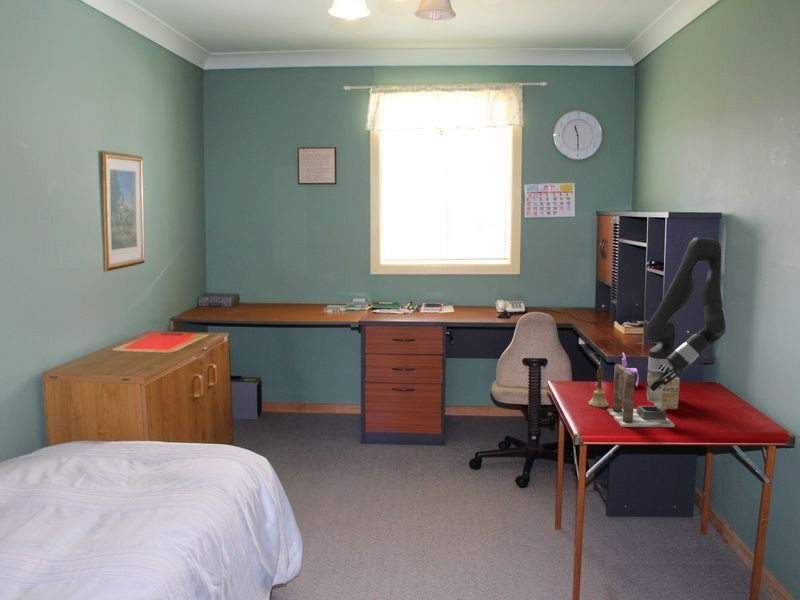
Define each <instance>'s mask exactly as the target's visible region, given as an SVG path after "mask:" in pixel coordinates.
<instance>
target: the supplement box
mask: <svg viewBox="0 0 800 600" xmlns="http://www.w3.org/2000/svg"><path fill="white" fill-rule="evenodd" d="M680 380H681V379H680V377H679V376H677V377H676V378H674V379H673V380H671V381H670V382H669V383H667V384H666V385H664V384H663V385H662V391H661V403H657V402H653V406H659V407H660V408H662V409H663V410H664V411H668V409H670V410H678V409H679V408H678V407H679V395H680ZM665 382H666V381H665Z"/></svg>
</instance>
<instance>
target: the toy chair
mask: <svg viewBox="0 0 800 600" xmlns="http://www.w3.org/2000/svg"><path fill="white" fill-rule="evenodd" d="M621 354H622V357H621V361H622V363H621V365H622V366H624V367H625V368H626V369H627V370H628V371H630V372H631V373H632V374H637V379H636V380H635V381H636V382H635V386H637V387H636V388H638V386H639V382H640V381H639V380H640V375H639V373H638V372H639V371H638V369H637V368H635V367H627V366H628V362H627V358H626V355H625V352H622V353H621Z"/></svg>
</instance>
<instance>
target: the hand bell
mask: <svg viewBox="0 0 800 600" xmlns="http://www.w3.org/2000/svg"><path fill="white" fill-rule="evenodd" d="M596 379H597V387H596V388H597V389H596V390H594V391H593V394H592V397H591V399H590V400H589V401H588V403H587V404H588V405H589V406H591V405H592V406H591V407H595V406H596V407H595V408H607V407H609V406H610V404H609V402H608V401H607V399H606V393H605V391H604V390H602V387H603V385H602V382H603V379H604V369H603V366H598V369H597V370H596ZM606 406H607V407H606Z"/></svg>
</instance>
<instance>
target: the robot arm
mask: <svg viewBox="0 0 800 600" xmlns="http://www.w3.org/2000/svg"><path fill="white" fill-rule="evenodd" d="M698 262H705V263H707V266H708V270H707V271H708V272H707V276H706V278H705V280H704V282H703V285H702V286H701V292H700V295H701V301H702V302H701V304H702V309H703V312H704V313H703V315H704V327H703V328H702V329H700V330H699V331H698V332H696V333H694V334H692V335H691V336H690V337H689V338H687V339H686V340H685V341H684V342H683V343H682V344H680V345H679V346H678V347H677V348H676V349H675V340H676V326H675V324H674V322H673V321H672V320H671V318H672V317H673V316H674V315H676V314H677V313H678V312H679V311H681V310H682V309H683V308H684V307H685V306H686V305H688V302H689V301H690V299H691V297H692V295H693V293H694V292H695V280H694V274H693V272H694V269H695V266H696V265H697V263H698ZM721 271H722V247H721V244H720V242H719V240H717V239H715V238H711V237H702V236H701V237H700V236H698V237H697V236H695V237H693V239H691V240H690V242H689V243H688V245H687V248H686V251H685V253H684V255H683V258H682V260H681V262H680V265H679V267H678V269H677V271H676V273H675V276H674V277H673V279H672V281H671V283H670V285H669V286H668V288H667V291H666V293H665V295H664V297H663V299H662V301H661V302H660V304H658V305H659V306H658V307H657V309H656V311H655V312H654V313H653V315H652V316H651V318H650V319H649V321H648V322H647V324H646V327H645V336H646V338H647V340H649V342H653V343H656V345H654V346H652V348H650V349H649V350H648V363H647V370H648V369H659V370H661V371H662V372H663V373H662V374H661V375H660V377H659V378H658V379H657V381H655V382H654V383H653V384H652V385H651V386H650V389H651V390H652V391H655V390H656V389H657V388H658V387H659V386H660V385H663V384H664V385H666V384H667V383H669V382H670V381H671V380H673V379H674V378H676V377H678V375H677V374H676V373H677V372H680V373H683V372H684V370H686V369H687V368H688V367H689V366H690V365H691V364H693V362H694V361H696V360H697V358H698V357H699V356H701V354H702V353H703V352H704V351H705V350H706V349H707V348H708V347H710V346H711V345H712V344H714V343H716V342H717V341H718V340H720V338H722V337H723V335H724V334H725V333H726V329H727V328H726V320H725V316H724V315H725V314H724V310H723V300H722V289H721ZM674 349H675V350H674ZM646 381H647V382H646V383H645V386H646V390H647V389H648V377H647V379H646ZM665 381H666V382H665Z"/></svg>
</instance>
